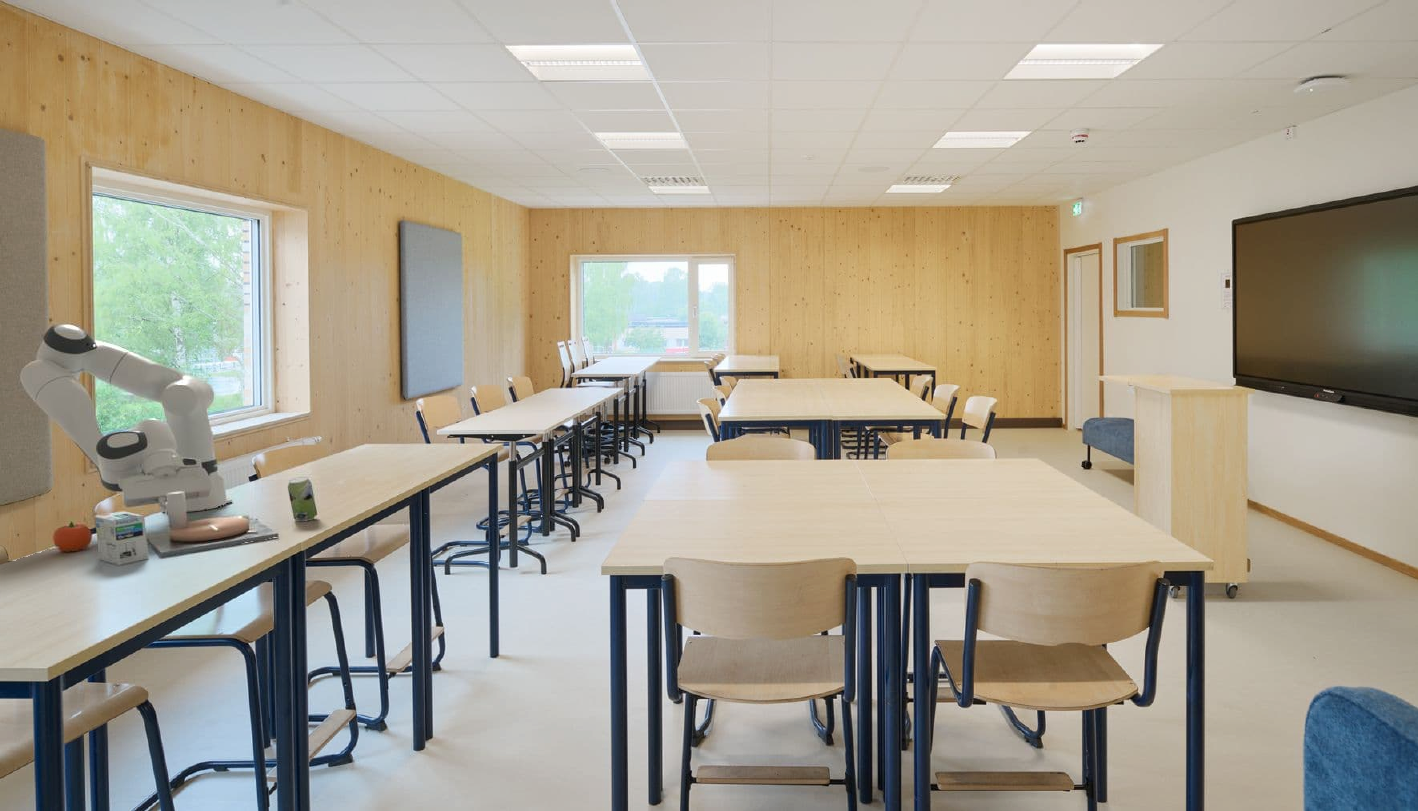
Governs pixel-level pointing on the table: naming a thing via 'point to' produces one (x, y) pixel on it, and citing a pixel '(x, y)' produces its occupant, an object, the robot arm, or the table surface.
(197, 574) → the table surface
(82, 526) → the pumpkin
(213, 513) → the table surface
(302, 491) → the beverage can
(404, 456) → the table surface
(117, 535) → the light bulb box
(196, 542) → the base
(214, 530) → the crank handwheel
